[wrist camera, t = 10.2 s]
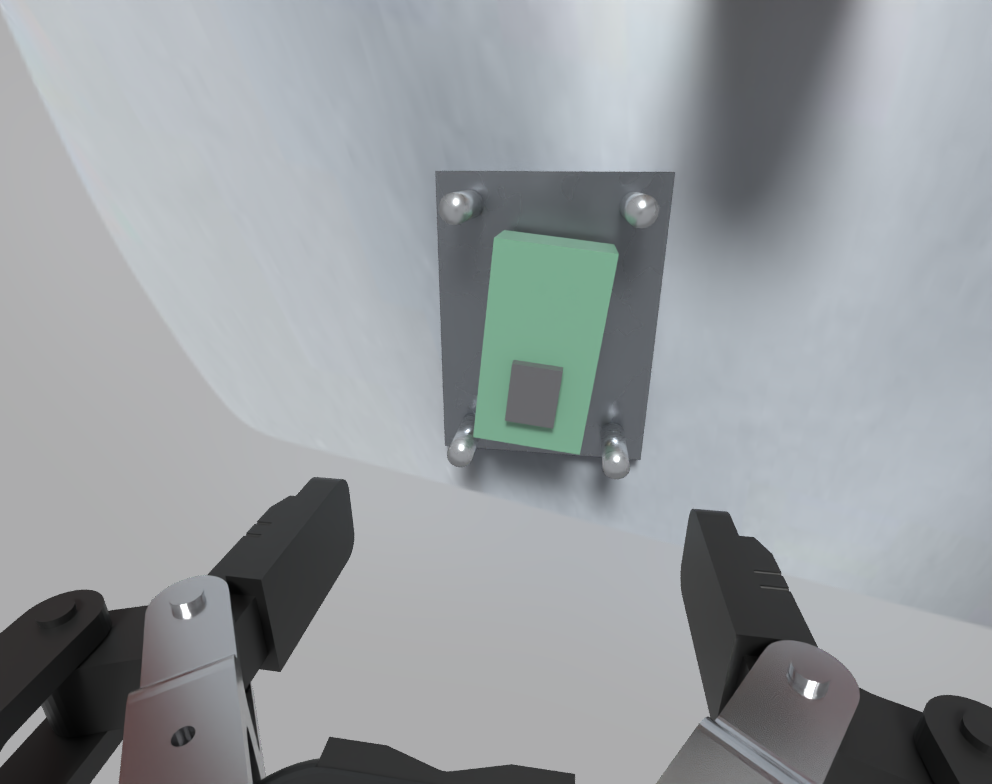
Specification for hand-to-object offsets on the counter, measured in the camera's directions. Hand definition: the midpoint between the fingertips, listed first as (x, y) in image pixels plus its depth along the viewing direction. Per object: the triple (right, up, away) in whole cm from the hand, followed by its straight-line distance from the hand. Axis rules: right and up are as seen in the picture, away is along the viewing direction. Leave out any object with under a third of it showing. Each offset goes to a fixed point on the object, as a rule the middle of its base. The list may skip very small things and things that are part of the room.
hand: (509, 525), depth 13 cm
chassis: (+3, +7, +19) cm, 20 cm away
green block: (+2, +6, +16) cm, 18 cm away
